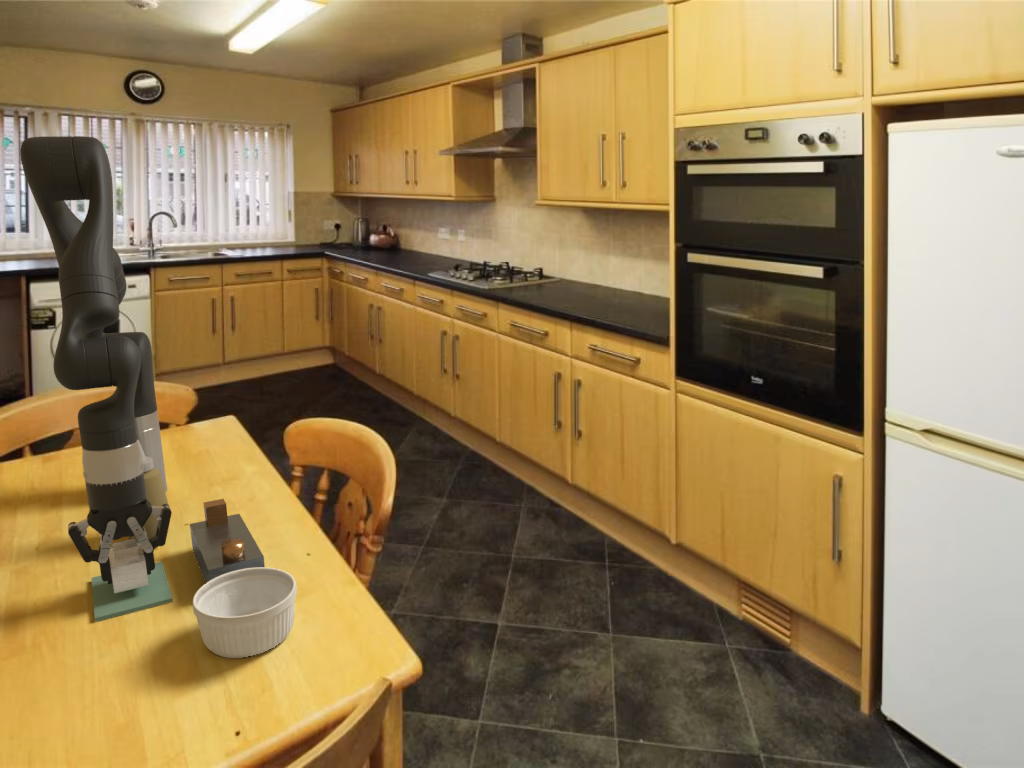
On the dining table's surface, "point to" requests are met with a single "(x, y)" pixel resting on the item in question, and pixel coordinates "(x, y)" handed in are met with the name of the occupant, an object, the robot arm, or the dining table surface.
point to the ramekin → (246, 611)
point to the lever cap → (127, 566)
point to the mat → (130, 595)
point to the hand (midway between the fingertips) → (129, 576)
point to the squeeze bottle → (152, 492)
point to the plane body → (223, 542)
